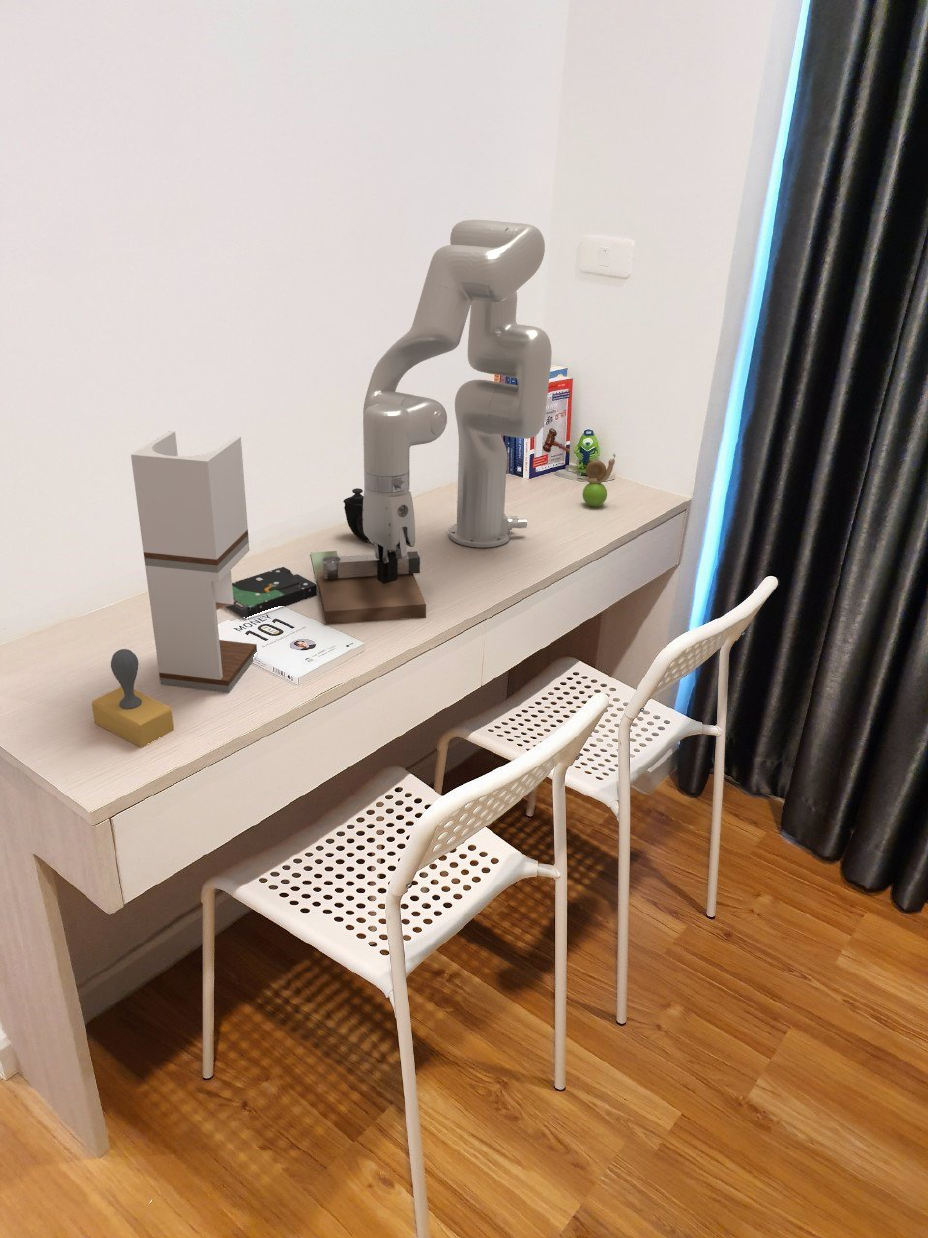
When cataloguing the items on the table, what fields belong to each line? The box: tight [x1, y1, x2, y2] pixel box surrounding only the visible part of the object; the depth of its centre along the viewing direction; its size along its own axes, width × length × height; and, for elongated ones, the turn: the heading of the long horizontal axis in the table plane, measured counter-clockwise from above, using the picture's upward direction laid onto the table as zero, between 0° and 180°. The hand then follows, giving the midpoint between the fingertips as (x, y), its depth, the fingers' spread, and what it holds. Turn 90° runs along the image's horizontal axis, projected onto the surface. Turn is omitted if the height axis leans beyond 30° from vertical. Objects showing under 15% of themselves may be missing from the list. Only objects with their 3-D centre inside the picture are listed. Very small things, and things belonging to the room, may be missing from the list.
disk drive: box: [225, 566, 318, 619], centre depth 170 cm, size 10×3×15 cm
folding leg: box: [322, 551, 421, 579], centre depth 173 cm, size 17×3×3 cm, turn 103°
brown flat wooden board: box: [310, 550, 427, 625], centre depth 176 cm, size 17×30×2 cm, turn 13°
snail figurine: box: [582, 453, 616, 507], centre depth 214 cm, size 5×6×12 cm
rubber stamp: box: [91, 648, 175, 748], centre depth 131 cm, size 10×6×12 cm, turn 55°
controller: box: [343, 487, 371, 543], centre depth 193 cm, size 4×12×10 cm, turn 56°
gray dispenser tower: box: [130, 430, 258, 694], centre depth 140 cm, size 11×11×35 cm
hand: (387, 580), depth 170 cm, fingers closed
